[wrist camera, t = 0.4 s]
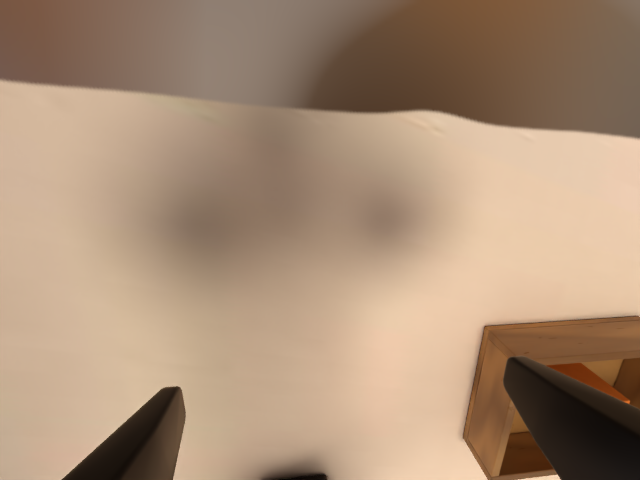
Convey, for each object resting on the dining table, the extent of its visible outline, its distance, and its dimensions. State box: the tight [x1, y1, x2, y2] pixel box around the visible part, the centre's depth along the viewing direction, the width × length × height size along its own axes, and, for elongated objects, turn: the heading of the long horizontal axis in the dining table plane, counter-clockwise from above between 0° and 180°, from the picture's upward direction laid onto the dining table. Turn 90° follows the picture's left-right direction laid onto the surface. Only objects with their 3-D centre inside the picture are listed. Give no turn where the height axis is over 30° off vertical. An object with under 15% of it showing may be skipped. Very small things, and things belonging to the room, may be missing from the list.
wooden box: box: [463, 316, 640, 480], centre depth 27 cm, size 12×14×4 cm
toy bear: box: [546, 363, 630, 404], centre depth 25 cm, size 5×4×8 cm
